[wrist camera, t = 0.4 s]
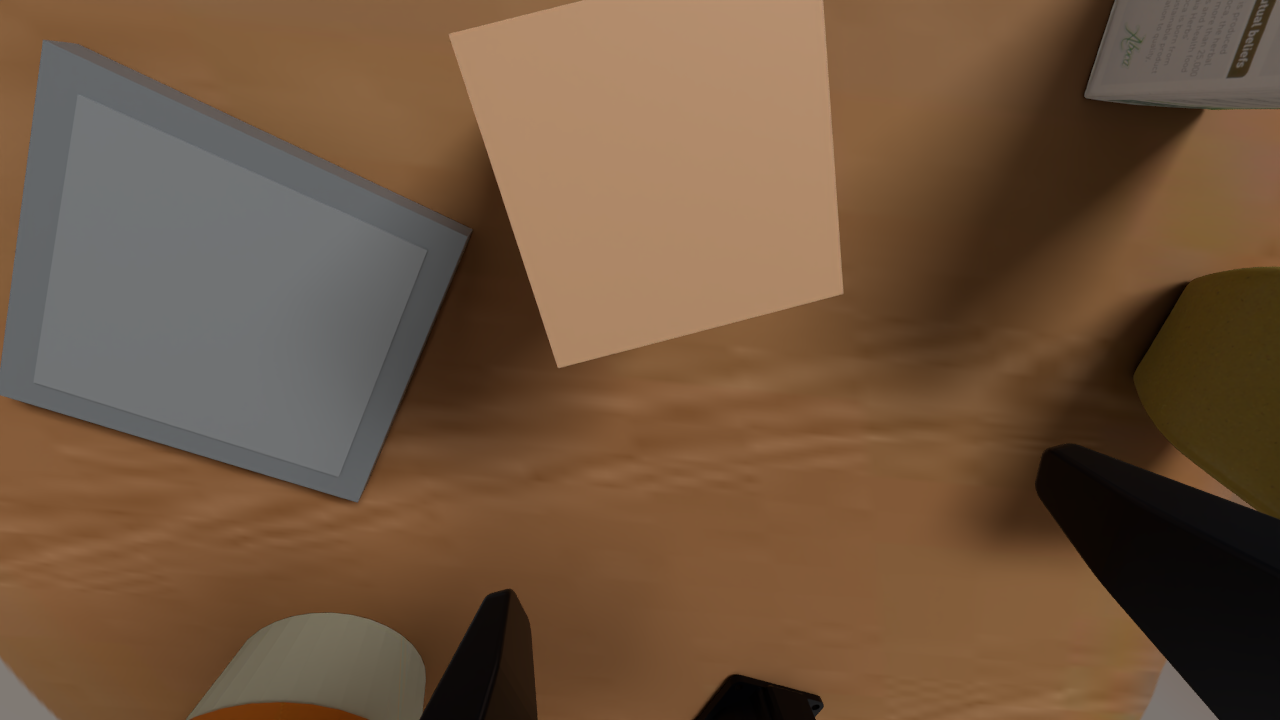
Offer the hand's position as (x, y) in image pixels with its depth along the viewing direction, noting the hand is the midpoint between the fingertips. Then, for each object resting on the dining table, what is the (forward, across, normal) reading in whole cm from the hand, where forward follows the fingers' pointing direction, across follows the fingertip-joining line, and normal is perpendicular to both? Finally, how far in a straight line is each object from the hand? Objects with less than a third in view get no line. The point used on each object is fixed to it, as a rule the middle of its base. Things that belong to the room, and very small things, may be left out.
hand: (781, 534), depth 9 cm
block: (+14, 0, -4) cm, 15 cm away
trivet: (+14, +14, -2) cm, 20 cm away
